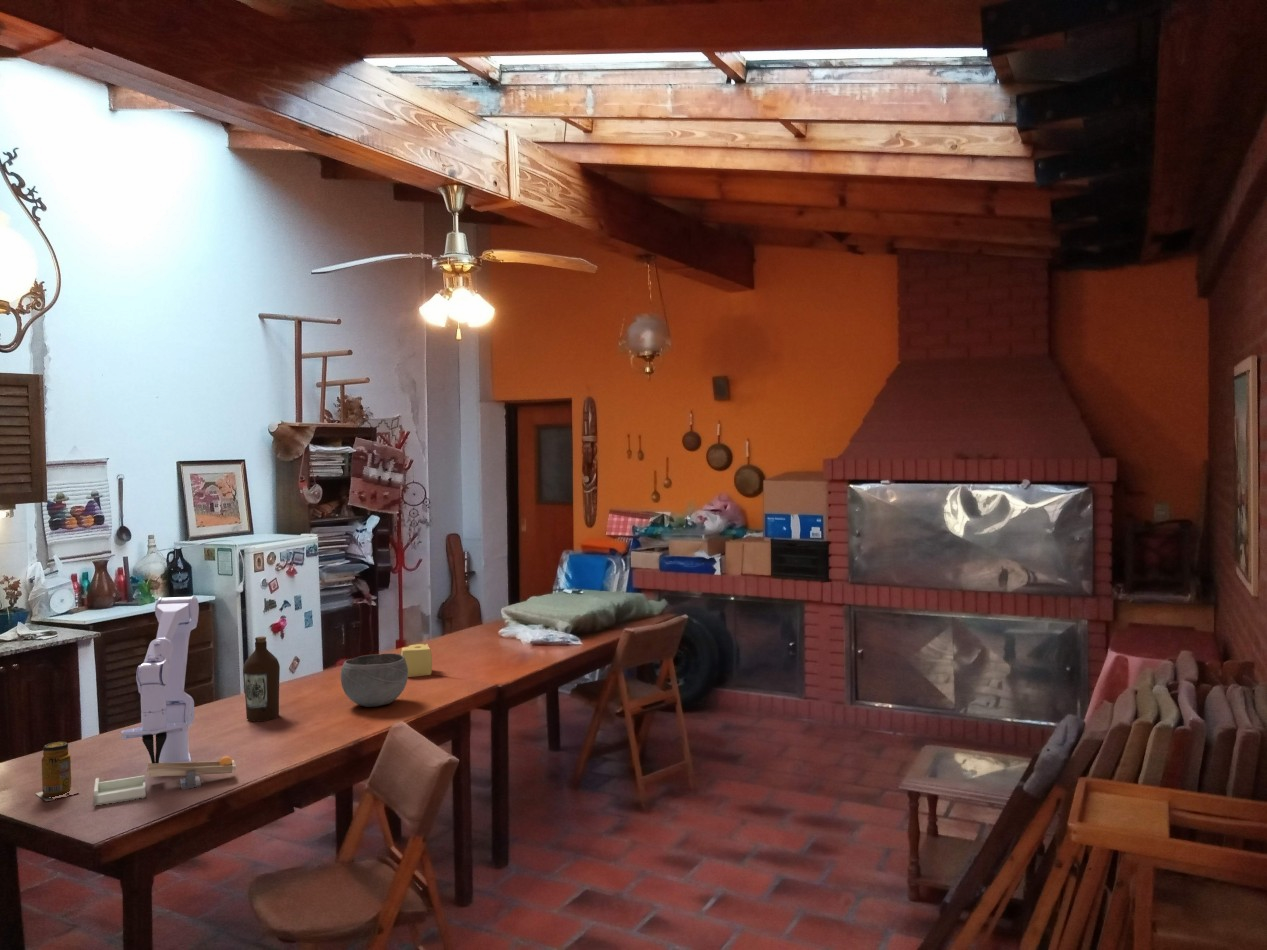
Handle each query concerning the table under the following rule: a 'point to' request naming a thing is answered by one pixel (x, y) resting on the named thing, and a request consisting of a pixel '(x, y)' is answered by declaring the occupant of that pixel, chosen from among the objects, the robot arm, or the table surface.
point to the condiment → (55, 770)
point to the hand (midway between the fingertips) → (155, 763)
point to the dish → (119, 790)
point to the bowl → (374, 678)
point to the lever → (188, 768)
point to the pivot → (190, 780)
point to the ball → (225, 761)
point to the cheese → (418, 659)
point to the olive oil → (261, 683)
